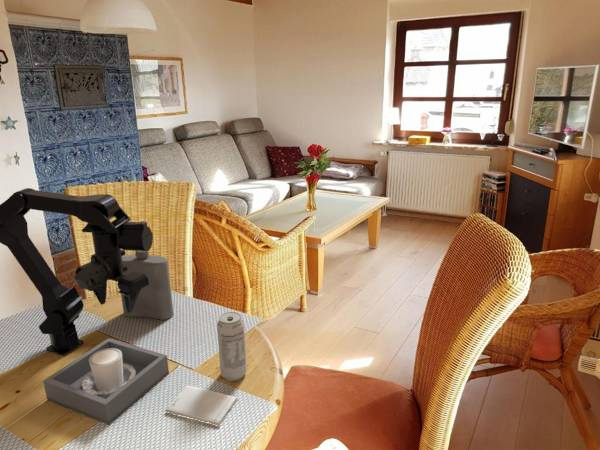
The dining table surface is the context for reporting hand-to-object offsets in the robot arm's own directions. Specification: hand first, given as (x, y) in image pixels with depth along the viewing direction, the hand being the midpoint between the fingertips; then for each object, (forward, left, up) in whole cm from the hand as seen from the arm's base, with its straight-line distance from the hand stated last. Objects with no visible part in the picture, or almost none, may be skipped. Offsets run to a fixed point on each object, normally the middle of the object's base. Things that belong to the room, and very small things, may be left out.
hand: (116, 307), depth 113 cm
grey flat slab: (+31, -9, -13) cm, 35 cm away
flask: (-7, +17, -12) cm, 22 cm away
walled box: (+8, -12, -12) cm, 19 cm away
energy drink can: (+31, +3, -12) cm, 34 cm away
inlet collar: (+8, -12, -12) cm, 19 cm away
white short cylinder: (+8, -12, -11) cm, 18 cm away
